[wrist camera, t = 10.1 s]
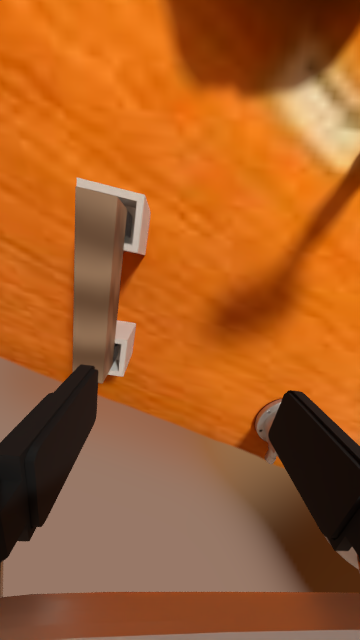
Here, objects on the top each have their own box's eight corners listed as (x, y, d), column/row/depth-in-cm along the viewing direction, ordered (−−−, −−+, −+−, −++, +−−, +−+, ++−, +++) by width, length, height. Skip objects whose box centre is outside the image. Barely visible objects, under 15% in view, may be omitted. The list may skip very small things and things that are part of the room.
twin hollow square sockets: (132, 353, 32) (123, 376, 26) (93, 347, 31) (73, 370, 25) (150, 212, 25) (144, 194, 19) (101, 200, 25) (76, 177, 18)
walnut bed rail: (118, 354, 28) (102, 383, 21) (95, 351, 27) (72, 379, 21) (132, 216, 22) (117, 196, 15) (104, 209, 21) (75, 186, 15)
